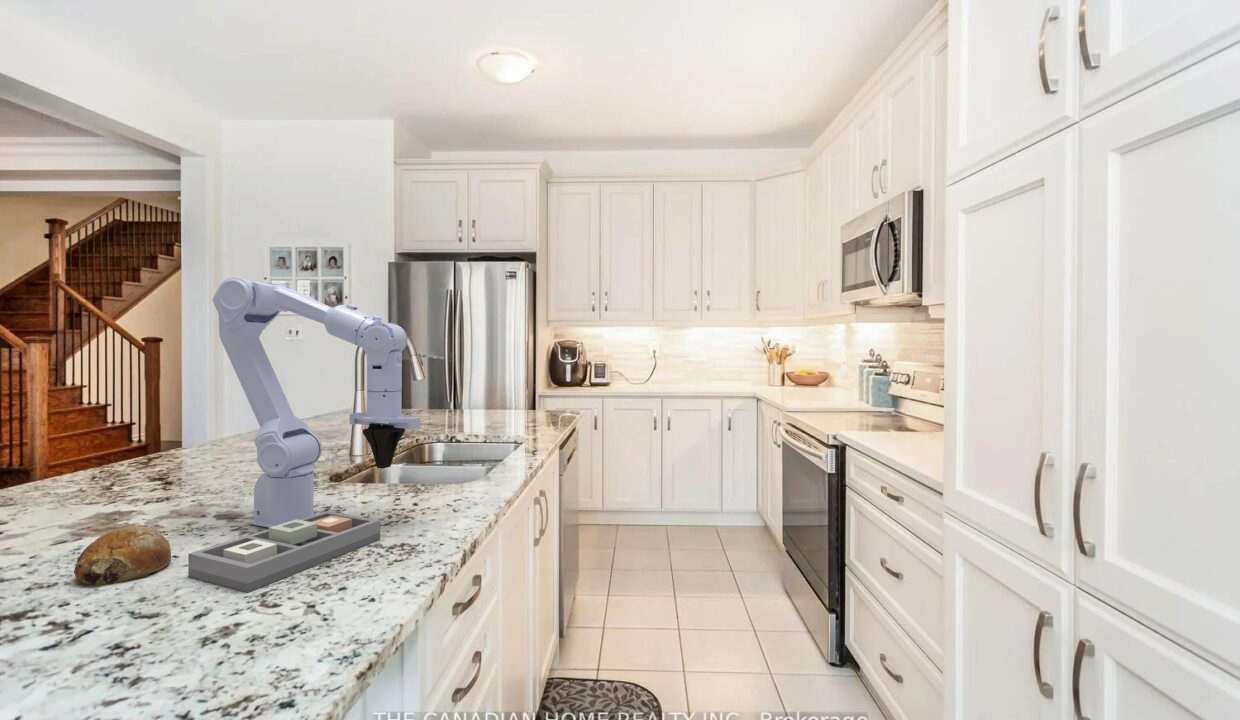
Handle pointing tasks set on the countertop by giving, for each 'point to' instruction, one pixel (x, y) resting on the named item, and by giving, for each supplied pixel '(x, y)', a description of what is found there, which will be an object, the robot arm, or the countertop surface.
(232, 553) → the key offwhite
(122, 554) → the bread roll
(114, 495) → the countertop surface
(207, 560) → the grey compartment tray
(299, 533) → the key sage
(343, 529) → the key terracotta
